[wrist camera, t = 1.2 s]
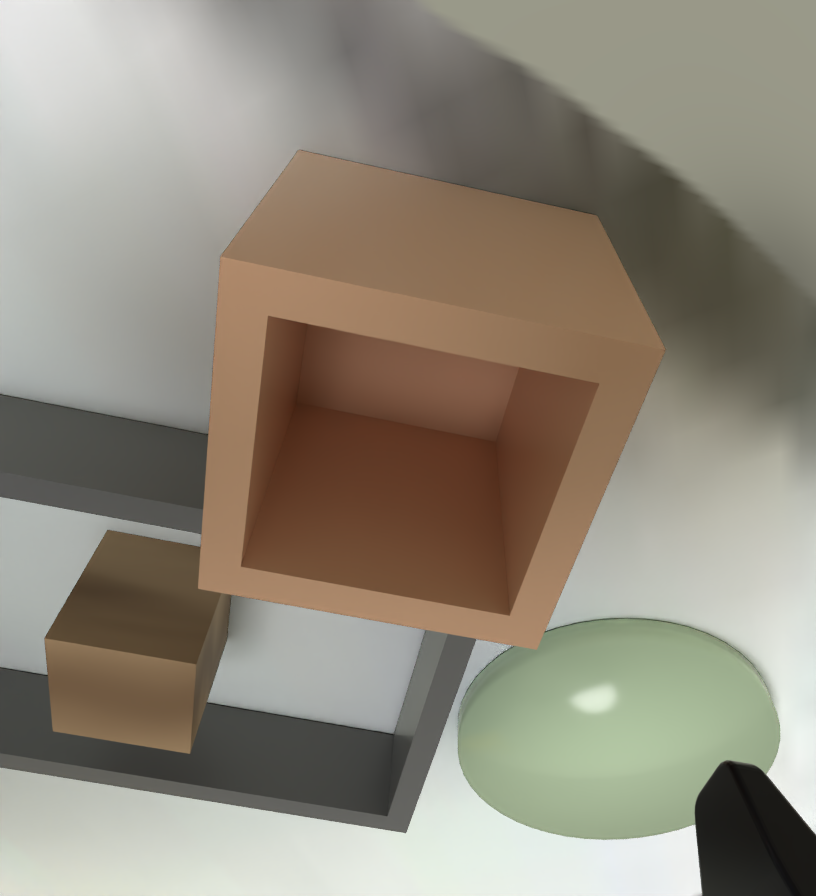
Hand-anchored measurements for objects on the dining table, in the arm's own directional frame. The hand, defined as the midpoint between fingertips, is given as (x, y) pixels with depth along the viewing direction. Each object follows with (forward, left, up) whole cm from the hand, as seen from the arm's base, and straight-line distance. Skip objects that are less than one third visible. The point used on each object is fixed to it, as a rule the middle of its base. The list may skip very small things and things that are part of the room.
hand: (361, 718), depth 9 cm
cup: (0, 0, -12) cm, 12 cm away
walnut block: (-11, +6, -12) cm, 17 cm away
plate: (-14, -10, -12) cm, 21 cm away
